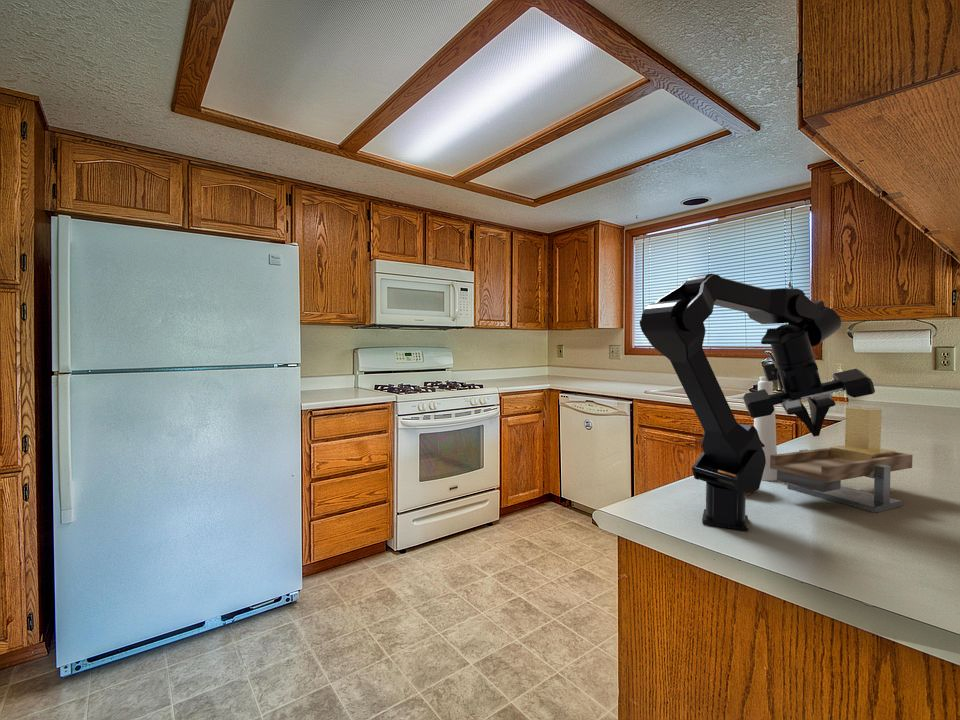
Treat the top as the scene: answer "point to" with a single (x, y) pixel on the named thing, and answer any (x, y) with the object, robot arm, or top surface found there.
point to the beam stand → (861, 493)
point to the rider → (861, 436)
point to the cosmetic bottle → (767, 432)
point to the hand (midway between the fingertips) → (815, 435)
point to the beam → (829, 468)
